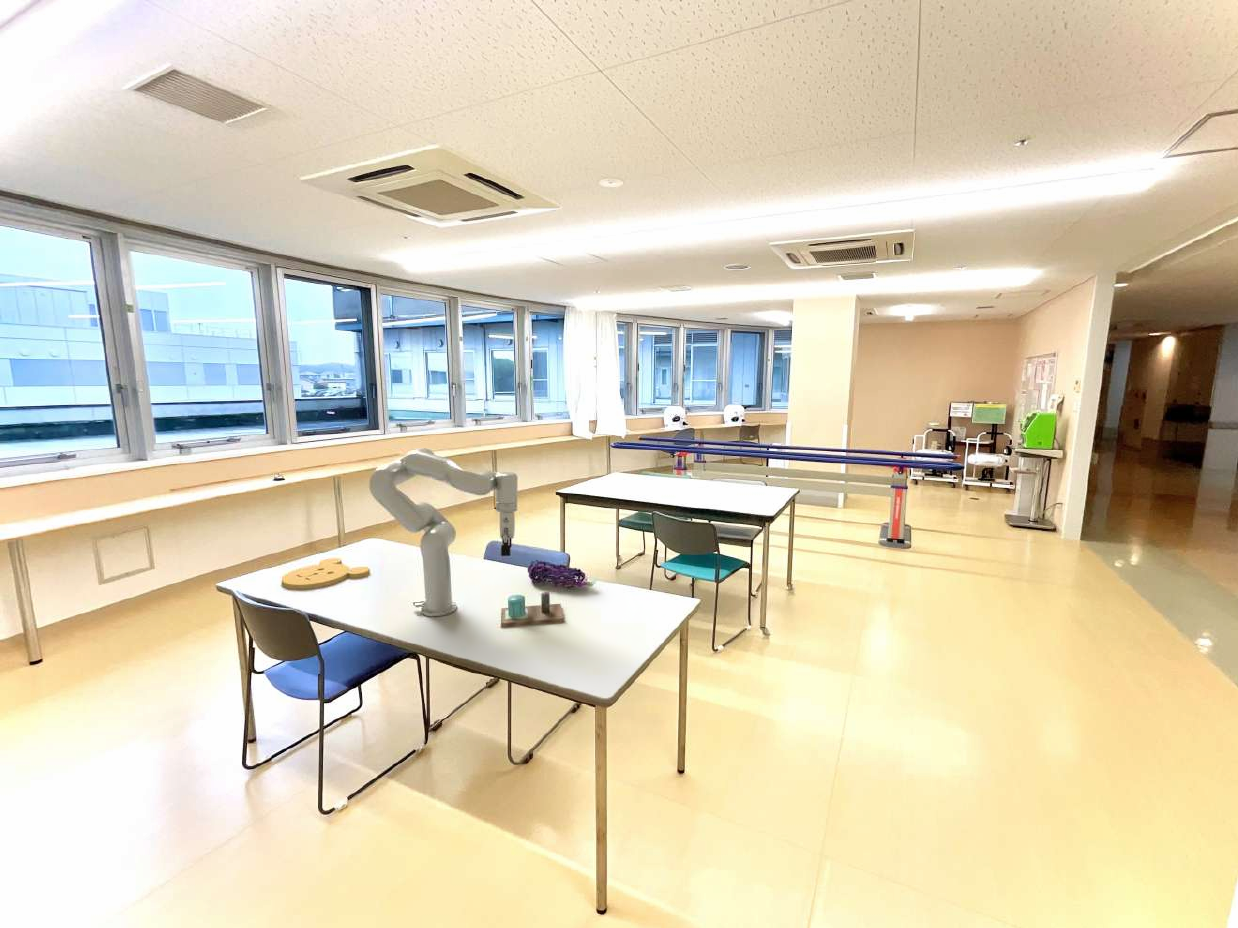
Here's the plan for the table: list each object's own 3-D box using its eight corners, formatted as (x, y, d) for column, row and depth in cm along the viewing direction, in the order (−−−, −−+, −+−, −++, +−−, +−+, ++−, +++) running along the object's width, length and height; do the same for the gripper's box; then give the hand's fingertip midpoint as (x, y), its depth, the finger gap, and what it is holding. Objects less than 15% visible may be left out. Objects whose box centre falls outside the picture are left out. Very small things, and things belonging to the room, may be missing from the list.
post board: (500, 627, 187) (500, 604, 186) (501, 611, 200) (500, 590, 198) (563, 622, 192) (563, 599, 190) (560, 607, 204) (560, 586, 203)
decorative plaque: (305, 596, 214) (374, 574, 240) (305, 590, 214) (373, 569, 239) (266, 581, 231) (335, 562, 256) (266, 575, 231) (334, 556, 256)
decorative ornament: (542, 559, 238) (601, 568, 224) (539, 583, 237) (598, 593, 223) (524, 559, 226) (585, 568, 213) (521, 584, 225) (582, 595, 211)
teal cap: (525, 616, 192) (525, 600, 191) (508, 617, 191) (508, 601, 190) (524, 609, 198) (524, 594, 197) (508, 611, 197) (507, 595, 196)
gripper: (516, 512, 188) (515, 558, 190) (518, 501, 205) (517, 544, 207) (494, 512, 187) (494, 559, 189) (497, 501, 204) (497, 544, 206)
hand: (506, 551), depth 198 cm, fingers open, 9 cm apart
